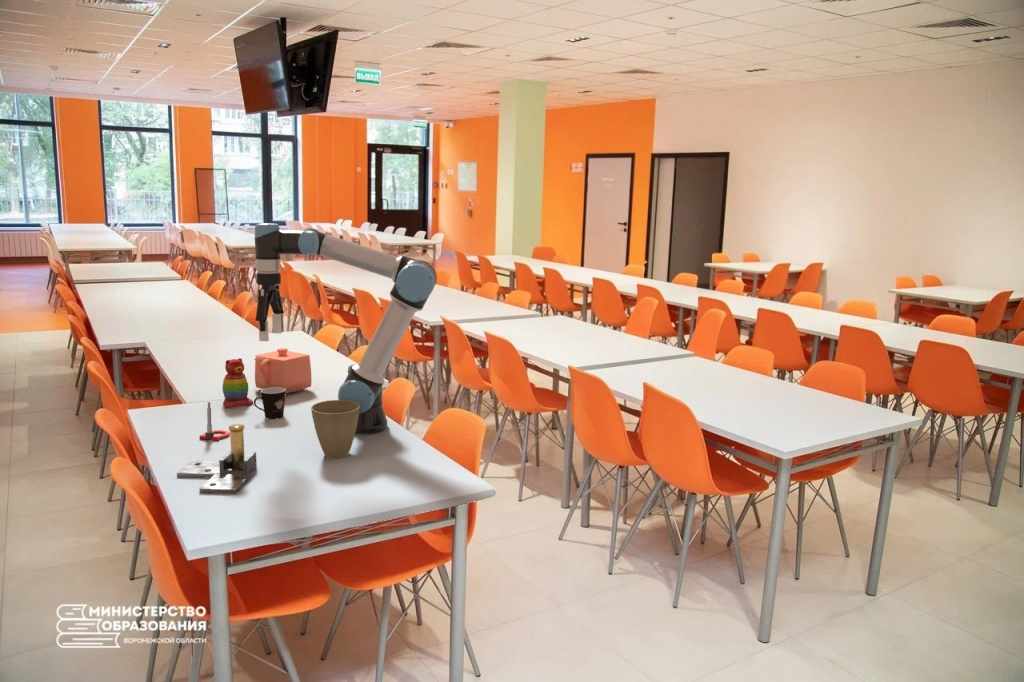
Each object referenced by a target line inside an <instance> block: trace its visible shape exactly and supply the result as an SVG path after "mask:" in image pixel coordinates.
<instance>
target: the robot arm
mask: <svg viewBox="0 0 1024 682" xmlns="http://www.w3.org/2000/svg"><path fill="white" fill-rule="evenodd" d="M253 239H254V251H255V261H254V262H253V263H254V264H255V270H256V271H257V273H256V274H255V277H256V284H257V285H258V286H261V289H260V288H259V289H258V292H257V293H258V294H257V295H258V298H257V307H256V314H255V321H257V322H258V336H259V337H258V338H259V339H258V340H259V342H269V341H270V339H269V320H268V315H269V311H270V308H271V311H272V314H271V316H272V317H271V321H272V322H271V323H272V334H282V315H281V314H284V312H285V311H284V307H283V302H282V297H281V296H282V295H281V293H280V285H281V283H282V273H280V271H282V269H281V255H285V254H286V255H303V256H307V255H308V256H309V255H310V256H311V255H317V256H321V257H324V258H327V259H330V260H334V261H337V262H339V263H342V264H345V265H349V266H352V267H354V268H358V269H361V270H363V271H367V272H370V273H373V274H376V275H380V276H383V277H385V278H388V279H391V281H392V283H394V284H393V285H392V288H391V290H390V292H389V297H390V298H391V300H390V303H389V304H388V306H387V308H386V310H385V312H384V314H383V316H382V318H381V320H380V321H379V323H378V326H377V327H376V330H375V331H374V333H373V336H372V338H371V340H370V342H369V343H368V345H367V347H366V350H365V351H364V354H363V355H362V357H361V359H360V361H359V362H357V363H355V364H354V363H353V364H350V365H349V366H348V368H347V376H346V378H345V380H344V382H343V383H342V384H341V385H340V387H339V389H338V393H337V394H338V395H337V400H347V401H353V402H356V403H358V404H359V405H360V408H359V416H358V422H357V427H356V432H355V435H371V434H378V433H383V432H385V431H386V430H387V429H388V418H387V415H386V413H385V410H384V408H383V386H384V383H385V378H384V373H385V371H386V369H387V367H389V366H388V365H389V363H390V362H391V360H392V358H393V356H394V354H395V352H396V350H397V348H398V346H399V344H400V342H401V341H402V339H403V336H404V335H405V333H406V331H407V330H408V329H407V328H409V326H410V323H411V321H412V320H413V317H414V315H415V314H416V313H417V312H420V311H423V308H424V306H425V305H426V303H427V301H428V299H429V297H430V295H431V294H432V293H433V291H434V288H435V286H436V284H437V279H438V276H437V272H436V270H435V268H434V267H433V265H432V264H430V262H427V261H425V260H422V259H416V258H412V257H409V256H405V255H400V256H395V255H392V254H389V253H386V252H383V251H380V250H376V249H373V248H370V247H367V246H364V245H361V244H358V243H354V242H353V241H348V240H346V239H342V238H340V237H336V236H333V235H331V234H327V233H324V232H321V231H319V230H317V229H315V228H312V227H309V228H307V227H306V228H303V229H300V230H285V229H284V230H282V229H280V225H279V224H278V223H266V222H265V223H264V222H263V223H257V224H256V225H255V227H254V238H253Z"/></svg>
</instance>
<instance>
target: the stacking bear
mask: <svg viewBox="0 0 1024 682" xmlns="http://www.w3.org/2000/svg"><path fill="white" fill-rule="evenodd" d="M224 368H225V371H226V374H225V375H224V377H223V381H222V392H223V396H224V400H223V403H222V406H223V408H225V409H236V408H237V406H239V407H245V406H244V405H250V406H252V404H253V405H254V400H252V399H251V398H249V397H248V394H249V383H248V378H247V376H246V375H245V373H244V371H245V364H244V362H243V359H242V358H241V357H238V358H233V359H227V360H226V361H225V366H224Z"/></svg>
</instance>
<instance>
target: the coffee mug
mask: <svg viewBox="0 0 1024 682" xmlns="http://www.w3.org/2000/svg"><path fill="white" fill-rule="evenodd" d="M285 392H286V389H284V388H277V387H274V388H266V389H261V390H260V394H261V396H257V397H255V399H254V400H253V405H254V407H255V408H256V409H258V410H260V411H263V412H264V418H265V417H266V418H268V419H267V420H277V419H276V418H280V419H282V418H284V413H285V412H284V411H285V402H286V395H285ZM258 399H262V407H263V408H261V407H259V406H258V405H257V404H256V402H257V400H258ZM281 417H282V418H281ZM266 418H265V419H266Z"/></svg>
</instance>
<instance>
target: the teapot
mask: <svg viewBox="0 0 1024 682" xmlns="http://www.w3.org/2000/svg"><path fill="white" fill-rule="evenodd" d="M311 366H312V365H311V356H310V354H308V353H302V352H297V351H291V350H289V349H288V348H285V347H280V348H277V349H276V350H274V351H270V352H265V353H259V354H256V355H255V358H254V384H255V388H258V389H261V390H263V389H266V388H274V387H277V388H284V389H286V392H285V394H287V395H288V394H289V393H292V392H303V391H304V389H308V388H310V387H312V367H311ZM302 390H303V391H302Z"/></svg>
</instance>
